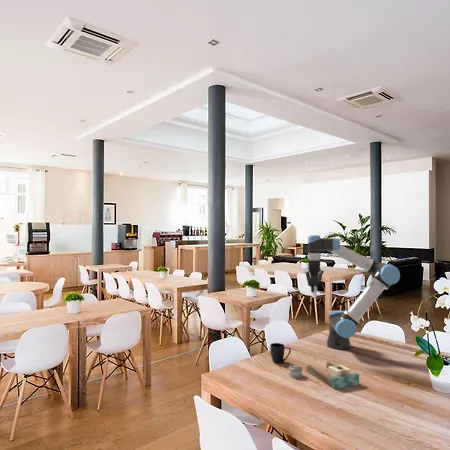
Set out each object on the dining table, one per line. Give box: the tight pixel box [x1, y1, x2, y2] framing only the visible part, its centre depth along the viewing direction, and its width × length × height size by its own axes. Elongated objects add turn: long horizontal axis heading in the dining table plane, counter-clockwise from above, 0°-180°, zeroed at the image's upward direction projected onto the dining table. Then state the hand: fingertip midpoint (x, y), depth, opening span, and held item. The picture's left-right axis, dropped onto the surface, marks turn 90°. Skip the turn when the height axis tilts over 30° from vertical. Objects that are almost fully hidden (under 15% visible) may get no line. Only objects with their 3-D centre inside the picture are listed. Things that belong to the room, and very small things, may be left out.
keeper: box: [327, 364, 351, 378], centre depth 184 cm, size 8×7×8 cm
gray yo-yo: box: [288, 365, 304, 379], centre depth 193 cm, size 7×7×4 cm
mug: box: [269, 342, 292, 364], centre depth 213 cm, size 8×12×10 cm
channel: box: [305, 361, 360, 390], centre depth 190 cm, size 15×24×5 cm, turn 20°
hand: (314, 297), depth 229 cm, fingers closed
